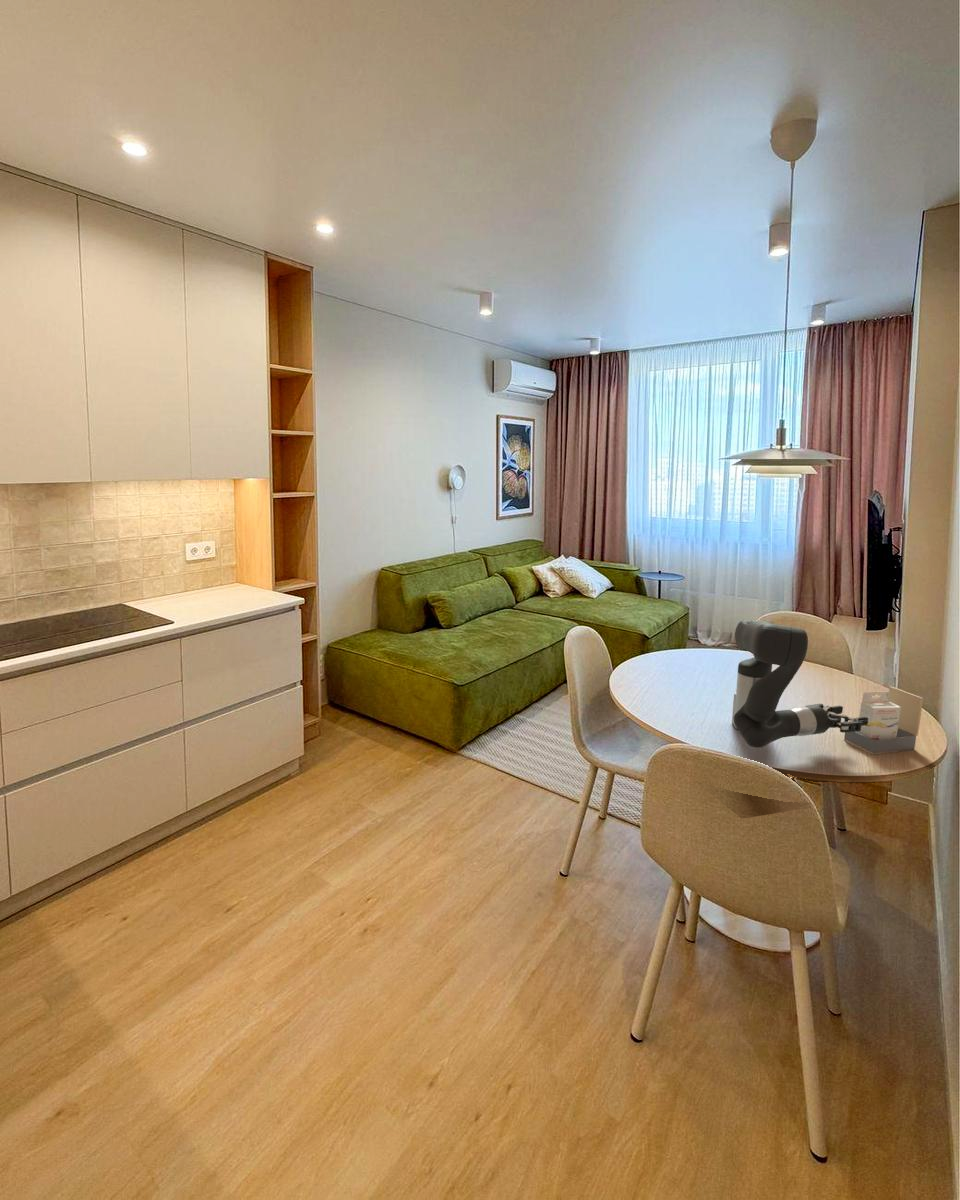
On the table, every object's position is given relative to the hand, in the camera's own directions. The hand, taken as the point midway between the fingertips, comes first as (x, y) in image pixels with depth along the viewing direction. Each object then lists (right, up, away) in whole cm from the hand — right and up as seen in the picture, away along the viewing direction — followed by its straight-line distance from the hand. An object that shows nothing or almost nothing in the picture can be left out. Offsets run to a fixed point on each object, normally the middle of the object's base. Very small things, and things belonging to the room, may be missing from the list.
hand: (853, 714), depth 173 cm
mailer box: (+9, -9, +4) cm, 14 cm away
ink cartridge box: (+9, -9, +4) cm, 13 cm away
